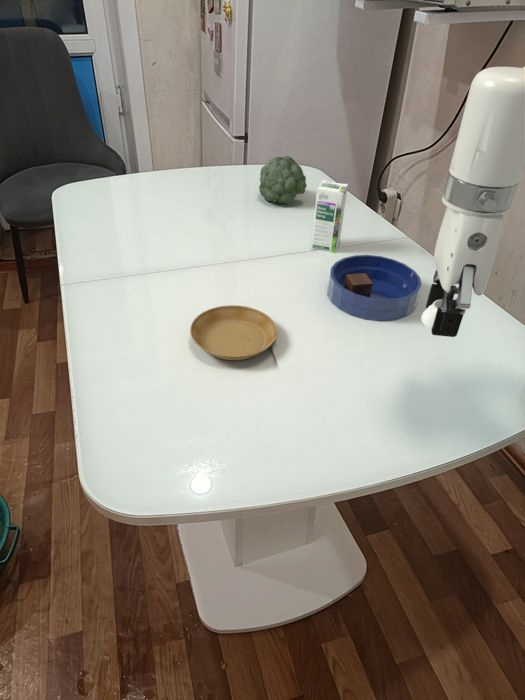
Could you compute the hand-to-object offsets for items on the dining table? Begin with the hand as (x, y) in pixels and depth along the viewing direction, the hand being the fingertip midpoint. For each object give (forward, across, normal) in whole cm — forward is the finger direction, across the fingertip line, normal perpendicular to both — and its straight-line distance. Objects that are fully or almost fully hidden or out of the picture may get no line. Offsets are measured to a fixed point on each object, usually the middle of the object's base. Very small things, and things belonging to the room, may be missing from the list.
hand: (440, 320), depth 69 cm
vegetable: (+15, +74, +28) cm, 81 cm away
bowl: (+15, +28, +6) cm, 32 cm away
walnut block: (+14, +27, +9) cm, 32 cm away
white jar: (+1, 0, 0) cm, 1 cm away
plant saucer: (+15, +10, +30) cm, 35 cm away
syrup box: (+15, +48, +16) cm, 53 cm away
